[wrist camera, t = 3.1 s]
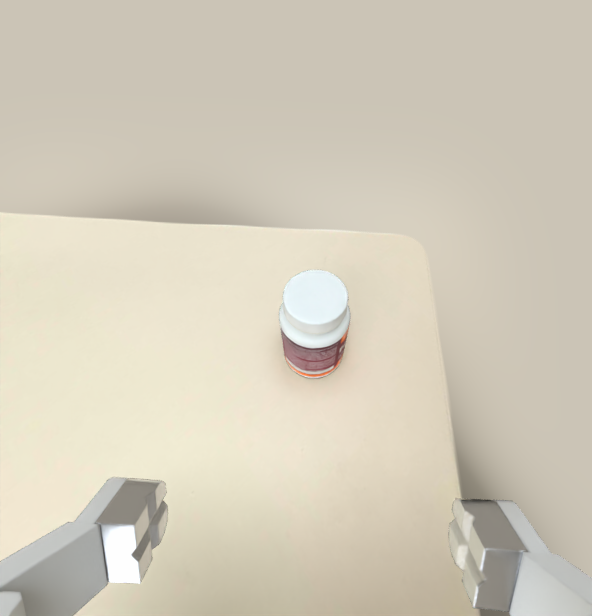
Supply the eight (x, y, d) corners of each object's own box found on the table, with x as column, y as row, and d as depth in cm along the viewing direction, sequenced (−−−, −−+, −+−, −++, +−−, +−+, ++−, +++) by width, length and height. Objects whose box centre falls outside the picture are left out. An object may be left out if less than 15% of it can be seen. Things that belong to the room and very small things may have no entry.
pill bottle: (349, 373, 28) (365, 322, 21) (289, 384, 27) (283, 336, 20) (335, 320, 30) (344, 258, 23) (279, 330, 30) (271, 270, 23)
